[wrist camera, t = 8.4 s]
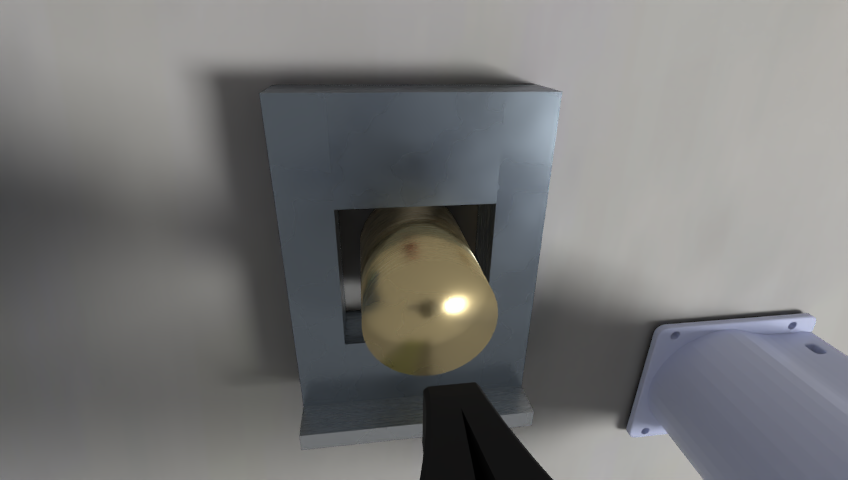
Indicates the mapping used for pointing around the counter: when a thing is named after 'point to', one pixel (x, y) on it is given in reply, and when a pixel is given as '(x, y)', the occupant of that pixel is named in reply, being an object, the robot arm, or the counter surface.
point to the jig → (405, 187)
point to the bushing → (422, 292)
